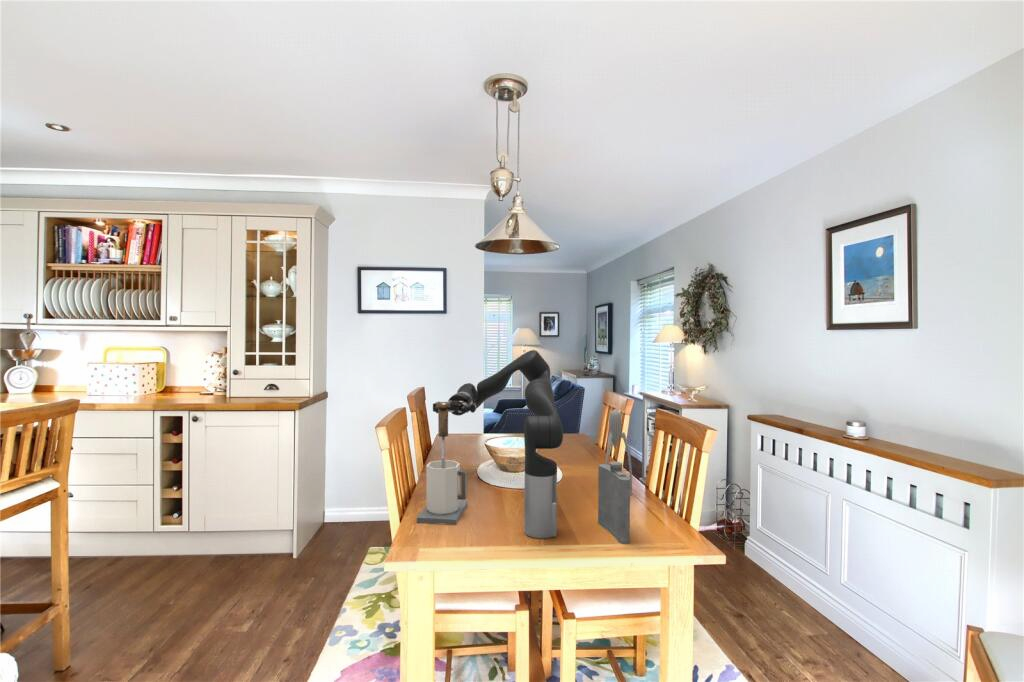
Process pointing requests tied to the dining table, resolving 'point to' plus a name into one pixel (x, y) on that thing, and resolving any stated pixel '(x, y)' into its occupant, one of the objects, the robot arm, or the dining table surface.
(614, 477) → the hip flask
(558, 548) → the dining table surface
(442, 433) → the plunger
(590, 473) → the dining table surface
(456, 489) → the coffee press
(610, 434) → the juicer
